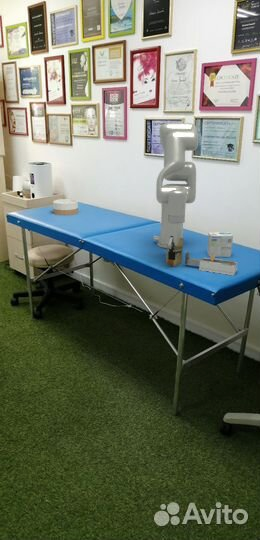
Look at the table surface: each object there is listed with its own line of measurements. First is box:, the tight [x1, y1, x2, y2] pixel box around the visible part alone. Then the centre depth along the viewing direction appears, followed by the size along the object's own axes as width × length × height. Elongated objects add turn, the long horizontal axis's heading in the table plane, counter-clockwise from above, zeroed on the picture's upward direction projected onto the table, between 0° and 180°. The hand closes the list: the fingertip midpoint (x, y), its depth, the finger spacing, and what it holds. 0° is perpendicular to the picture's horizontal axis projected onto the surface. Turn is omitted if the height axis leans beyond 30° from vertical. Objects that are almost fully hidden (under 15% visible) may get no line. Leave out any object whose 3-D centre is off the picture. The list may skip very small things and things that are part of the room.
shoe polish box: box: [166, 238, 184, 267], centre depth 181 cm, size 5×5×12 cm
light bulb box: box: [206, 231, 234, 258], centre depth 194 cm, size 11×7×11 cm, turn 92°
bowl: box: [52, 198, 79, 216], centre depth 282 cm, size 17×17×8 cm
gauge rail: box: [198, 257, 238, 277], centre depth 174 cm, size 15×7×4 cm, turn 66°
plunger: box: [184, 251, 216, 267], centre depth 177 cm, size 12×3×5 cm, turn 66°
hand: (174, 257), depth 182 cm, fingers closed on shoe polish box, 6 cm apart
